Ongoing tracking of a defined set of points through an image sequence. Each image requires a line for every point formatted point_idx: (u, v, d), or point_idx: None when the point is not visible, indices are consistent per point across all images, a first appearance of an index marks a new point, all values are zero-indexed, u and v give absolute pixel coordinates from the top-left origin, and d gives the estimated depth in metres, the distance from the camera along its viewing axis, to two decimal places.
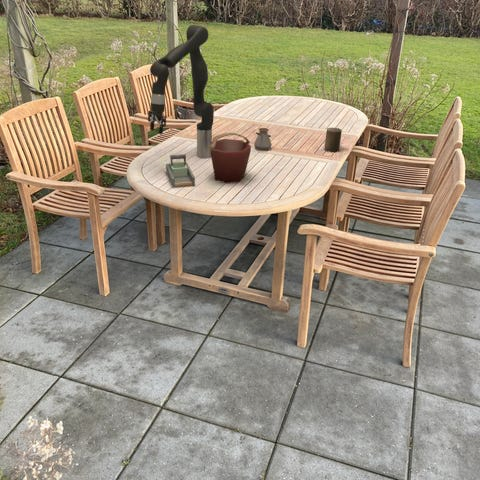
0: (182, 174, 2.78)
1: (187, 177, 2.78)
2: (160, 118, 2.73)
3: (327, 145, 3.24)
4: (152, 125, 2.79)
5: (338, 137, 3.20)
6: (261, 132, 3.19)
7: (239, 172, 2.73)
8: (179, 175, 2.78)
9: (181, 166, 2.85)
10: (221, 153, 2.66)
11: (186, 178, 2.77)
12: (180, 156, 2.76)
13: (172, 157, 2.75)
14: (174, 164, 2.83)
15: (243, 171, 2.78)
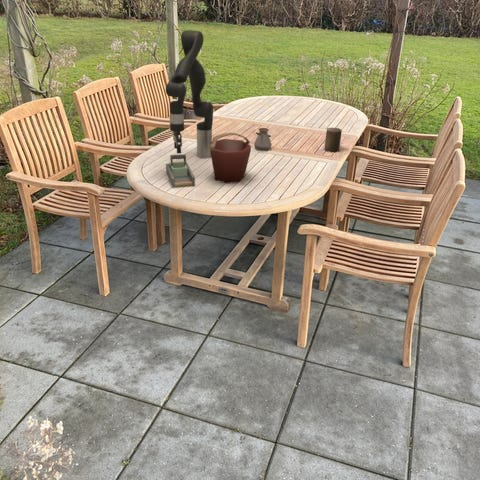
0: (182, 174, 2.78)
1: (187, 177, 2.78)
2: None
3: (327, 145, 3.24)
4: (176, 143, 2.77)
5: (338, 137, 3.20)
6: (261, 132, 3.19)
7: (239, 172, 2.73)
8: (179, 175, 2.78)
9: (181, 166, 2.85)
10: (221, 153, 2.66)
11: (186, 178, 2.77)
12: (180, 156, 2.76)
13: (172, 157, 2.75)
14: (174, 164, 2.83)
15: (243, 171, 2.78)
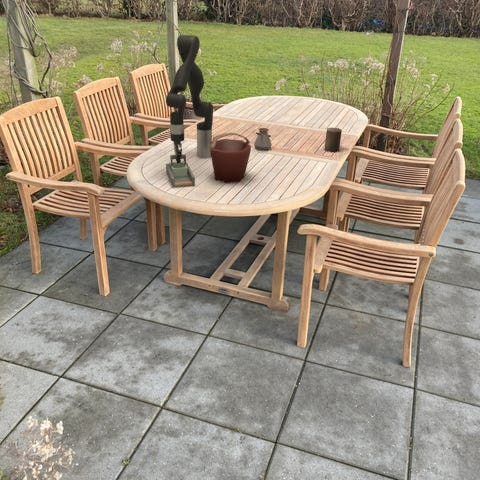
0: (182, 174, 2.78)
1: (187, 177, 2.78)
2: None
3: (327, 145, 3.24)
4: None
5: (338, 137, 3.20)
6: (261, 132, 3.19)
7: (239, 172, 2.73)
8: (179, 175, 2.78)
9: (181, 166, 2.85)
10: (221, 153, 2.66)
11: (186, 178, 2.77)
12: None
13: (172, 157, 2.75)
14: (174, 164, 2.83)
15: (243, 171, 2.78)
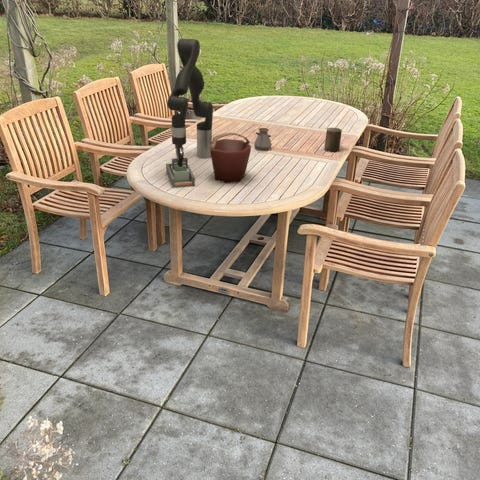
0: (183, 178, 2.73)
1: None
2: None
3: (327, 145, 3.24)
4: None
5: (338, 137, 3.20)
6: (261, 132, 3.19)
7: (239, 172, 2.73)
8: (181, 179, 2.73)
9: (183, 169, 2.80)
10: (221, 153, 2.66)
11: None
12: None
13: (174, 160, 2.71)
14: (176, 167, 2.79)
15: (243, 171, 2.78)
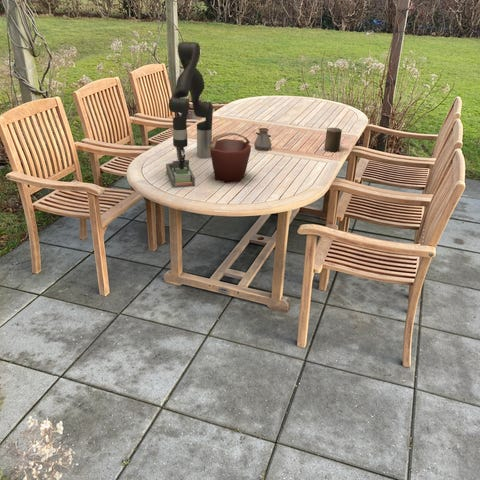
0: (185, 181, 2.70)
1: None
2: None
3: (327, 145, 3.24)
4: None
5: (338, 137, 3.20)
6: (261, 132, 3.19)
7: (239, 172, 2.73)
8: (182, 182, 2.70)
9: (184, 172, 2.77)
10: (221, 153, 2.66)
11: None
12: None
13: (175, 163, 2.68)
14: (177, 170, 2.75)
15: (243, 171, 2.78)
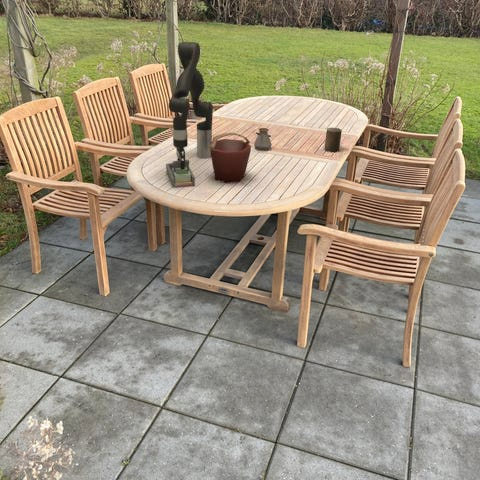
0: (185, 181, 2.70)
1: None
2: None
3: (327, 145, 3.24)
4: (179, 159, 2.72)
5: (338, 137, 3.20)
6: (261, 132, 3.19)
7: (239, 172, 2.73)
8: (182, 182, 2.70)
9: (184, 172, 2.77)
10: (221, 153, 2.66)
11: None
12: None
13: (175, 163, 2.67)
14: (177, 170, 2.75)
15: (243, 171, 2.78)
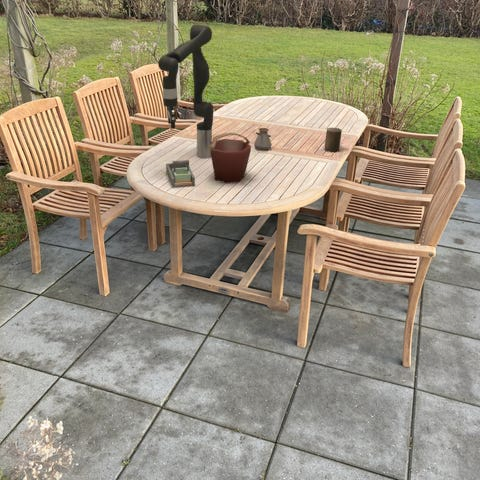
0: (185, 181, 2.70)
1: None
2: None
3: (327, 145, 3.24)
4: (170, 119, 2.78)
5: (338, 137, 3.20)
6: (261, 132, 3.19)
7: (239, 172, 2.73)
8: (182, 182, 2.70)
9: (184, 172, 2.77)
10: (221, 153, 2.66)
11: None
12: (183, 162, 2.69)
13: (175, 163, 2.67)
14: (177, 170, 2.75)
15: (243, 171, 2.78)
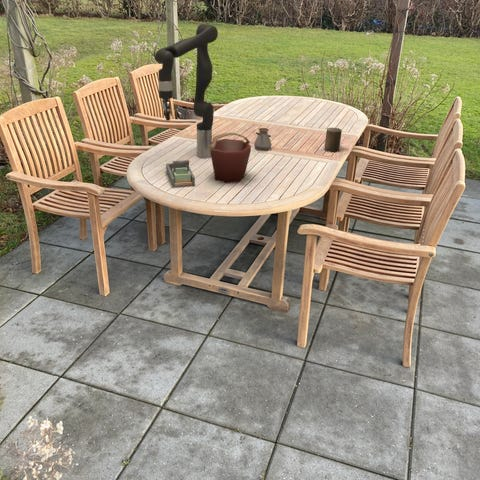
0: (185, 181, 2.70)
1: None
2: None
3: (327, 145, 3.24)
4: (165, 111, 2.84)
5: (338, 137, 3.20)
6: (261, 132, 3.19)
7: (239, 172, 2.73)
8: (182, 182, 2.70)
9: (184, 172, 2.77)
10: (221, 153, 2.66)
11: None
12: (183, 162, 2.69)
13: (175, 163, 2.67)
14: (177, 170, 2.75)
15: (243, 171, 2.78)
